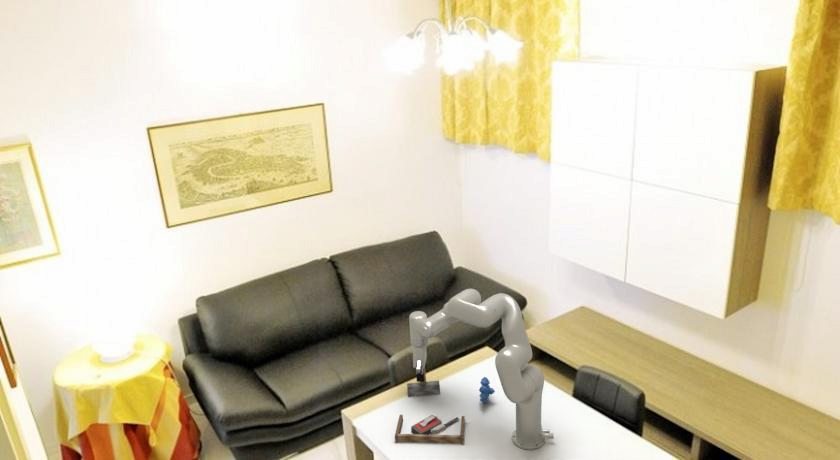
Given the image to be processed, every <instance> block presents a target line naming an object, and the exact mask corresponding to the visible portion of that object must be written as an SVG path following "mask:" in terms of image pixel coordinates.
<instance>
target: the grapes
mask: <svg viewBox="0 0 840 460" xmlns="http://www.w3.org/2000/svg"><path fill="white" fill-rule="evenodd" d="M479 383H480V384H481V386H480V387H479V389H478V391H479V392H480V394H479V397H480V399H479V401H480V403H481V404H483V405H485V404H487V403H489V401H490V400H489V399H488V398H489V397H490V395H493V394H495V392H496V391H495V389H494V388H493V387H490V379H489V378H488V377H486V376H483V378H481V379H480V382H479Z"/></svg>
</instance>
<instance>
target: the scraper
mask: <svg viewBox="0 0 840 460" xmlns="http://www.w3.org/2000/svg"><path fill="white" fill-rule="evenodd" d="M420 370H421V371H422V368H420ZM423 373H424V382H411V383H410V382H409V383H406V390H407V398H412V397H423V396H435V395H440V394H441V385H440V380H432V381H431V380H428V381H427V375H426V369H425V367H424V368H423Z"/></svg>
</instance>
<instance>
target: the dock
mask: <svg viewBox="0 0 840 460" xmlns="http://www.w3.org/2000/svg"><path fill="white" fill-rule="evenodd" d="M403 422H404V415H403V414H399V417H398V421H397V425H396V428H395V429H396V430H395V433H394V442H395V443H411V444H412V443H415V444H447V445H450V444H451V445H453V444H454V445H464V442H465V441H464V438H465V427H466V418H465V415H461V421H460V430H459V435H456V434H453V435H452V434H429V435H426V434H413V433H401V432H402V429H403V428H402V427H403Z"/></svg>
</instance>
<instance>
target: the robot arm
mask: <svg viewBox="0 0 840 460" xmlns="http://www.w3.org/2000/svg"><path fill="white" fill-rule="evenodd" d="M500 319H501V334H502V336H503V340H504V347H503V348H501V349H500V350H499V351H498V352H497V353H496V355H495V361H494V362H495V368H496V372H497V376H498V378H499V381H500V385H501V388H502V391H503V393H504V395H505V397H506V398H507V400H509V401H510V402H511V403H512V404H515V430H514V431H513V432H512V434H511V441H512V443H513V444H514V445H515V446H516V447H518V448H520V449H523V450H527V451H533V450H538V449H540V448H542V447H543V446H544V445H545V443H546V439H552V440H553V439H554V437H555V436H554V435H555V434H554V432H553V433H552V432H551V430H550V429H543V426H542V406H543V405H542V403H543V402H542V399H543V392H544V385H545V375H544V372H543V371H542V369H541V368H540V366H538V365H536V364H533V363H529V362H530V361H531V359H533V351H532V350H533V349H532V347H531V343H530V340H529V337H528V333H527V330H526V327H525V324H524V323H525V322H524V319H523V314H522V311H521V308H520V306H519V304H518V302H517V301H516V300H515V298H513V297H512V296H511V295H509V294H506V293H503V292H499V293H496V294H494V295H492V296H491V295H490V297H488V298H486V299H485V300H484V301H482V297H481V293H480V292H479V291H478V290H477V289H474V288H466V289H464V290H462V291H460V292H459V293H457V294H456V295H454V296H452V297H451V298H450V299H449V300H448V301H447V302H446V303H444V305H443V307H442V309H440V310H439V311H437V312H435V313H434V314H432V315H430V316H429V317H428V315H427V314H426V313H425V312H424V311H421V310H416V311H413V312H411V313H410V314H409V317H408V320H409V321H408V322H409V335H410V345H411V346H412V360H413V361H412V363H413V365H412V367H413V368H414V369H416V370H415V371H416V372H415V378H416V383H418V382H424V373H423V368H424V367H425V370H427V367H428V366H427V355H428V353H427V352H428V351H427V346H428V345H429V343H430V341H429V339H433V338H434V337H435V336H436V335H439V333H441V332H442V331H444V330H446V329H447V328H449V327H451V325H453V324H454V323H457V322H459V321H460V322H463V323H466V324H469V325H471V326H475V327H477V328H484V329H485V328H488V327H490V326H492V325H493V324H495V323H496V322H497V321H499V320H500ZM420 368H422V371H421V370H420Z"/></svg>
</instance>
